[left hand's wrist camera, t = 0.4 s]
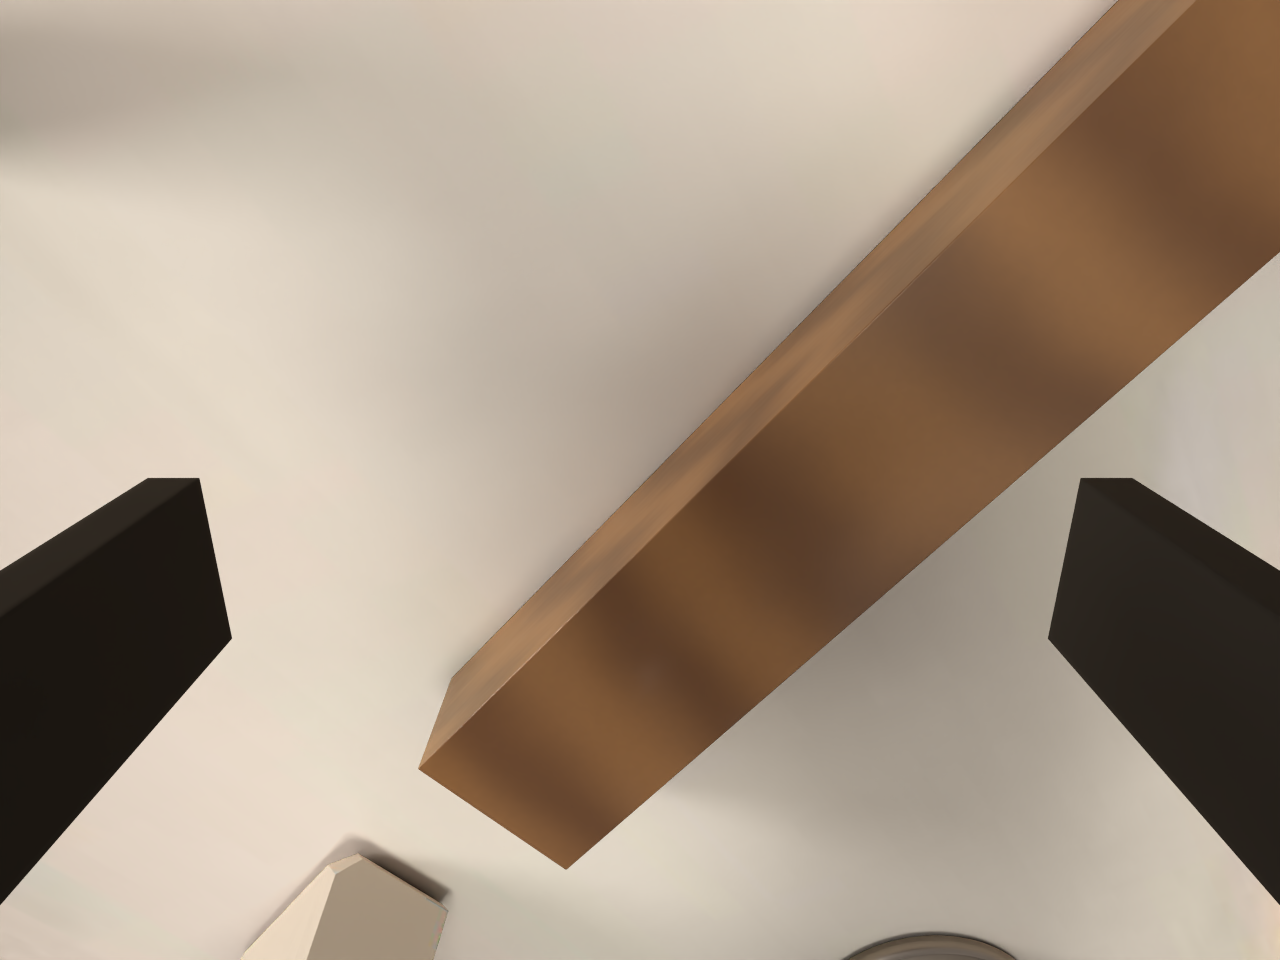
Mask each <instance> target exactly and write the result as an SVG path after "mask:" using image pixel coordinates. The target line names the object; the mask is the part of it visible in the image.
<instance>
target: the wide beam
mask: <svg viewBox="0 0 1280 960" xmlns="http://www.w3.org/2000/svg"><path fill="white" fill-rule="evenodd" d="M1279 252H1280V0H1118V1H1117V2H1116V3H1115V4H1114V5H1113V6H1112V8H1111V9H1110V10H1109V11H1108V12H1107V13H1106V14H1105V15H1104V16H1103V17H1102V18H1101V19H1100V20H1099V21H1098V22H1097V23H1096V24H1095V25H1094V26H1093V27H1092V28H1091V29H1090V30H1089V31H1088V32H1087V33H1086V34H1085V35H1084V36H1083V37H1082V38H1081V39H1080V40H1079V41H1078V42H1077V43H1076V44H1075V45H1074V46H1073V47H1072V48H1071V49H1070V50H1069V51H1068V52H1067V53H1066V54H1065V55H1064V56H1063V57H1062V58H1061V59H1060V60H1059V61H1058V62H1057V63H1056V64H1055V65H1054V66H1053V67H1052V69H1051V70H1050V71H1049V72H1048V73H1047V74H1046V75H1045V76H1044V77H1043V78H1042V79H1041V80H1040V81H1039V82H1038V83H1037V84H1036V85H1035V86H1034V87H1033V88H1032V89H1031V90H1030V91H1029V92H1028V93H1027V94H1026V95H1025V96H1024V97H1023V98H1022V99H1021V100H1020V101H1019V102H1018V103H1017V104H1016V105H1015V106H1014V107H1013V108H1012V109H1011V110H1010V111H1009V112H1008V113H1007V114H1006V115H1005V116H1004V117H1003V118H1002V119H1001V120H1000V121H999V122H998V123H997V124H996V125H995V126H994V127H993V129H992V130H991V131H990V132H989V133H988V134H987V135H986V136H985V137H984V138H983V139H982V140H981V141H980V142H979V143H978V144H977V145H976V146H975V147H974V148H973V149H972V150H971V151H970V152H969V153H968V154H967V155H966V156H965V157H964V158H963V159H962V160H961V161H960V162H959V163H958V164H957V165H956V166H955V167H954V168H953V169H952V170H951V171H950V172H949V173H948V174H947V175H946V176H945V177H944V178H943V179H942V180H941V181H940V182H939V183H938V184H937V185H936V186H935V187H934V188H933V190H932V191H931V192H930V193H929V194H928V195H927V196H926V197H925V198H924V199H923V200H922V201H921V202H920V203H919V204H918V205H917V206H916V207H915V208H914V209H913V210H912V211H911V212H910V213H909V214H908V215H907V216H906V217H905V218H904V219H903V220H902V221H901V222H900V223H899V224H898V225H897V226H896V227H895V228H894V229H893V230H892V231H891V232H890V233H889V234H888V235H887V236H886V237H885V238H884V239H883V240H882V241H881V242H880V243H879V244H878V245H877V246H876V247H875V248H874V249H873V251H872V252H871V253H870V254H869V255H868V256H867V257H866V258H865V259H864V260H863V261H862V262H861V263H860V264H859V265H858V266H857V267H856V268H855V269H854V270H853V271H852V272H851V273H850V274H849V275H848V276H847V277H846V278H845V279H844V280H843V281H842V282H841V283H840V284H839V285H838V286H837V287H836V288H835V289H834V290H833V291H832V292H831V293H830V294H829V295H828V296H827V297H826V298H825V299H824V300H823V301H822V302H821V303H820V304H819V305H818V306H817V307H816V308H815V309H814V310H813V312H812V313H811V314H810V315H809V316H808V317H807V318H806V319H805V320H804V321H803V322H802V323H801V324H800V325H799V326H798V327H797V328H796V329H795V330H794V331H793V332H792V333H791V334H790V335H789V336H788V337H787V338H786V339H785V340H784V341H783V342H782V343H781V344H780V345H779V346H778V347H777V348H776V349H775V350H774V351H773V352H772V353H771V354H770V355H769V356H768V357H767V358H766V359H765V360H764V361H763V362H762V363H761V364H760V365H759V366H758V367H757V368H756V369H755V370H754V372H753V373H752V374H751V375H750V376H749V377H748V378H747V379H746V380H745V381H744V382H743V383H742V384H741V385H740V386H739V387H738V388H737V389H736V390H735V391H734V392H733V393H732V394H731V395H730V396H729V397H728V398H727V399H726V400H725V401H724V402H723V403H722V404H721V405H720V406H719V407H718V408H717V409H716V410H715V411H714V412H713V413H712V414H711V415H710V416H709V417H708V418H707V419H706V420H705V421H704V422H703V423H702V424H701V425H700V426H699V427H698V428H697V429H696V430H695V431H694V433H693V434H692V435H691V436H690V437H689V438H688V439H687V440H686V441H685V442H684V443H683V444H682V445H681V446H680V447H679V448H678V449H677V450H676V451H675V452H674V453H673V454H672V455H671V456H670V457H669V458H668V459H667V460H666V461H665V462H664V463H663V464H662V465H661V466H660V467H659V468H658V469H657V470H656V471H655V472H654V473H653V474H652V475H651V476H650V477H649V478H648V479H647V480H646V481H645V482H644V483H643V484H642V485H641V486H640V487H639V488H638V489H637V490H636V491H635V492H634V494H633V495H632V496H631V497H630V498H629V499H628V500H627V501H626V502H625V503H624V504H623V505H622V506H621V507H620V508H619V509H618V510H617V511H616V512H615V513H614V514H613V515H612V516H611V517H610V518H609V519H608V520H607V521H606V522H605V523H604V524H603V525H602V526H601V527H600V528H599V529H598V530H597V531H596V532H595V533H594V534H593V535H592V536H591V537H590V538H589V539H588V540H587V541H586V542H585V543H584V544H583V545H582V546H581V547H580V548H579V549H578V550H577V551H576V552H575V554H574V555H573V556H572V557H571V558H570V559H569V560H568V561H567V562H566V563H565V564H564V565H563V566H562V567H561V568H560V569H559V570H558V571H557V572H556V573H555V574H554V575H553V576H552V577H551V578H550V579H549V580H548V581H547V582H546V583H545V584H544V585H543V586H542V587H541V588H540V589H539V590H538V591H537V592H536V593H535V594H534V595H533V596H532V597H531V598H530V599H529V600H528V601H527V602H526V603H525V604H524V605H523V606H522V607H521V608H520V609H519V610H518V611H517V612H516V613H515V615H514V616H513V617H512V618H511V619H510V620H509V621H508V622H507V623H506V624H505V625H504V626H503V627H502V628H501V629H500V630H499V631H498V632H497V633H496V634H495V635H494V636H493V637H492V638H491V639H490V640H489V641H488V642H487V643H486V644H485V645H484V646H483V647H482V648H481V649H480V650H479V651H478V652H477V653H476V654H475V655H474V656H473V657H472V658H471V659H470V660H469V661H468V662H467V663H466V664H465V665H464V666H463V667H462V668H461V669H460V670H459V671H458V672H457V673H456V674H455V676H454V677H453V678H452V679H451V681H450V684H449V687H448V689H447V692H446V695H445V698H444V700H443V703H442V706H441V708H440V711H439V714H438V716H437V719H436V722H435V725H434V727H433V730H432V733H431V735H430V738H429V741H428V744H427V746H426V749H425V752H424V754H423V757H422V760H421V763H420V765H419V768H418V769H419V770H420V771H422V772H423V773H425V774H426V775H428V776H429V777H431V778H432V779H434V780H435V781H437V782H438V783H439V784H441V785H442V786H444V787H445V788H447V789H448V790H450V791H451V792H453V793H454V794H456V795H457V796H459V797H460V798H461V799H463V800H464V801H466V802H467V803H469V804H470V805H472V806H473V807H475V808H476V809H478V810H479V811H481V812H482V813H484V814H485V815H486V816H488V817H489V818H491V819H492V820H494V821H495V822H497V823H498V824H500V825H501V826H503V827H504V828H506V829H507V830H508V831H510V832H511V833H513V834H514V835H516V836H517V837H519V838H520V839H522V840H523V841H525V842H526V843H528V844H529V845H530V846H532V847H533V848H535V849H536V850H538V851H539V852H541V853H542V854H544V855H545V856H547V857H548V858H550V859H551V860H552V861H554V862H555V863H557V864H558V865H560V866H561V867H563V868H564V869H568V868H569V867H570V866H571V865H572V864H573V863H575V862H576V861H577V860H578V859H579V858H580V857H581V856H583V855H584V854H585V853H586V852H587V851H588V850H590V849H591V848H592V847H593V846H594V845H595V844H597V843H598V842H599V841H600V840H601V839H602V838H603V837H605V836H606V835H607V834H608V833H609V832H610V831H612V830H613V829H614V828H615V827H616V826H617V825H618V824H620V823H621V822H622V821H623V820H624V819H625V818H627V817H628V816H629V815H630V814H631V813H632V812H633V811H635V810H636V809H637V808H638V807H639V806H640V805H642V804H643V803H644V802H645V801H646V800H647V799H648V798H650V797H651V796H652V795H653V794H654V793H655V792H657V791H658V790H659V789H660V788H661V787H662V786H663V785H665V784H666V783H667V782H668V781H669V780H670V779H672V778H673V777H674V776H675V775H676V774H677V773H679V772H680V771H681V770H682V769H683V768H684V767H685V766H687V765H688V764H689V763H690V762H691V761H692V760H694V759H695V758H696V757H697V756H698V755H699V754H700V753H702V752H703V751H704V750H705V749H706V748H707V747H709V746H710V745H711V744H712V743H713V742H714V741H715V740H717V739H718V738H719V737H720V736H721V735H722V734H724V733H725V732H726V731H727V730H728V729H729V728H730V727H732V726H733V725H734V724H735V723H736V722H737V721H739V720H740V719H741V718H742V717H743V716H744V715H745V714H747V713H748V712H749V711H750V710H751V709H752V708H754V707H755V706H756V705H757V704H758V703H759V702H761V701H762V700H763V699H764V698H765V697H766V696H767V695H769V694H770V693H771V692H772V691H773V690H774V689H776V688H777V687H778V686H779V685H780V684H781V683H782V682H784V681H785V680H786V679H787V678H788V677H789V676H791V675H792V674H793V673H794V672H795V671H796V670H797V669H799V668H800V667H801V666H802V665H803V664H804V663H806V662H807V661H808V660H809V659H810V658H811V657H812V656H814V655H815V654H816V653H817V652H818V651H819V650H821V649H822V648H823V647H824V646H825V645H826V644H827V643H829V642H830V641H831V640H832V639H833V638H834V637H836V636H837V635H838V634H839V633H840V632H841V631H843V630H844V629H845V628H846V627H847V626H848V625H849V624H851V623H852V622H853V621H854V620H855V619H856V618H858V617H859V616H860V615H861V614H862V613H863V612H864V611H866V610H867V609H868V608H869V607H870V606H871V605H873V604H874V603H875V602H876V601H877V600H878V599H879V598H881V597H882V596H883V595H884V594H885V593H886V592H888V591H889V590H890V589H891V588H892V587H893V586H894V585H896V584H897V583H898V582H899V581H900V580H901V579H903V578H904V577H905V576H906V575H907V574H908V573H909V572H911V571H912V570H913V569H914V568H915V567H916V566H918V565H919V564H920V563H921V562H922V561H923V560H925V559H926V558H927V557H928V556H929V555H930V554H931V553H933V552H934V551H935V550H936V549H937V548H938V547H940V546H941V545H942V544H943V543H944V542H945V541H946V540H948V539H949V538H950V537H951V536H952V535H953V534H955V533H956V532H957V531H958V530H959V529H960V528H961V527H963V526H964V525H965V524H966V523H967V522H968V521H970V520H971V519H972V518H973V517H974V516H975V515H976V514H978V513H979V512H980V511H981V510H982V509H983V508H985V507H986V506H987V505H988V504H989V503H990V502H991V501H993V500H994V499H995V498H996V497H997V496H998V495H1000V494H1001V493H1002V492H1003V491H1004V490H1005V489H1007V488H1008V487H1009V486H1010V485H1011V484H1012V483H1013V482H1015V481H1016V480H1017V479H1018V478H1019V477H1020V476H1022V475H1023V474H1024V473H1025V472H1026V471H1027V470H1028V469H1030V468H1031V467H1032V466H1033V465H1034V464H1035V463H1037V462H1038V461H1039V460H1040V459H1041V458H1042V457H1043V456H1045V455H1046V454H1047V453H1048V452H1049V451H1050V450H1052V449H1053V448H1054V447H1055V446H1056V445H1057V444H1058V443H1060V442H1061V441H1062V440H1063V439H1064V438H1065V437H1067V436H1068V435H1069V434H1070V433H1071V432H1072V431H1073V430H1075V429H1076V428H1077V427H1078V426H1079V425H1080V424H1082V423H1083V422H1084V421H1085V420H1086V419H1087V418H1089V417H1090V416H1091V415H1092V414H1093V413H1094V412H1095V411H1097V410H1098V409H1099V408H1100V407H1101V406H1102V405H1104V404H1105V403H1106V402H1107V401H1108V400H1109V399H1110V398H1112V397H1113V396H1114V395H1115V394H1116V393H1117V392H1119V391H1120V390H1121V389H1122V388H1123V387H1124V386H1125V385H1127V384H1128V383H1129V382H1130V381H1131V380H1132V379H1134V378H1135V377H1136V376H1137V375H1138V374H1139V373H1140V372H1142V371H1143V370H1144V369H1145V368H1146V367H1147V366H1149V365H1150V364H1151V363H1152V362H1153V361H1154V360H1155V359H1157V358H1158V357H1159V356H1160V355H1161V354H1162V353H1164V352H1165V351H1166V350H1167V349H1168V348H1169V347H1171V346H1172V345H1173V344H1174V343H1175V342H1176V341H1177V340H1179V339H1180V338H1181V337H1182V336H1183V335H1184V334H1186V333H1187V332H1188V331H1189V330H1190V329H1191V328H1192V327H1194V326H1195V325H1196V324H1197V323H1198V322H1199V321H1201V320H1202V319H1203V318H1204V317H1205V316H1206V315H1207V314H1209V313H1210V312H1211V311H1212V310H1213V309H1214V308H1216V307H1217V306H1218V305H1219V304H1220V303H1221V302H1222V301H1224V300H1225V299H1226V298H1227V297H1228V296H1229V295H1231V294H1232V293H1233V292H1234V291H1235V290H1236V289H1237V288H1239V287H1240V286H1241V285H1242V284H1243V283H1244V282H1246V281H1247V280H1248V279H1249V278H1250V277H1251V276H1253V275H1254V274H1255V273H1256V272H1257V271H1258V270H1259V269H1261V268H1262V267H1263V266H1264V265H1265V264H1266V263H1268V262H1269V261H1270V260H1271V259H1272V258H1273V257H1274V256H1276V255H1277V254H1278V253H1279Z"/></svg>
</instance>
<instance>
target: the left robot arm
mask: <svg viewBox="0 0 1280 960" xmlns="http://www.w3.org/2000/svg"><path fill="white" fill-rule="evenodd" d="M231 639H232V636H231V631H230V626H229V622H228V617H227V612H226V607H225V602H224V597H223V592H222V587H221V582H220V577H219V572H218V568H217V563H216V558H215V553H214V548H213V543H212V538H211V533H210V528H209V523H208V518H207V513H206V509H205V504H204V499H203V494H202V489H201V484H200V479H199V478H147V479H146V480H144V481H142V482H141V483H139V484H138V485H136V486H134V487H133V488H131V489H130V490H128V491H127V492H125V493H123V494H122V495H120V496H119V497H117V498H115V499H114V500H112V501H111V502H109V503H107V504H106V505H104V506H103V507H101V508H99V509H98V510H96V511H95V512H93V513H91V514H90V515H88V516H87V517H85V518H83V519H82V520H80V521H79V522H77V523H75V524H74V525H72V526H71V527H69V528H68V529H66V530H64V531H63V532H61V533H60V534H58V535H56V536H55V537H53V538H52V539H50V540H48V541H47V542H45V543H44V544H42V545H40V546H39V547H37V548H36V549H34V550H32V551H31V552H29V553H28V554H26V555H24V556H23V557H21V558H20V559H18V560H17V561H15V562H13V563H12V564H10V565H9V566H7V567H5V568H4V569H2V570H1V571H0V905H1V904H2V902H3V901H4V900H5V899H6V898H7V897H8V895H9V894H10V893H11V892H12V891H13V890H14V889H15V887H16V886H17V885H18V884H19V883H20V882H21V881H22V879H23V878H24V877H25V876H26V875H27V874H28V872H29V871H30V870H31V869H32V868H33V867H34V866H35V864H36V863H37V862H38V861H39V860H40V859H41V858H42V856H43V855H44V854H45V853H46V852H47V851H48V849H49V848H50V847H51V846H52V845H53V844H54V843H55V841H56V840H57V839H58V838H59V837H60V836H61V835H62V833H63V832H64V831H65V830H66V829H67V828H68V826H69V825H70V824H71V823H72V822H73V821H74V820H75V818H76V817H77V816H78V815H79V814H80V813H81V812H82V810H83V809H84V808H85V807H86V806H87V805H88V803H89V802H90V801H91V800H92V799H93V798H94V797H95V795H96V794H97V793H98V792H99V791H100V790H101V789H102V787H103V786H104V785H105V784H106V783H107V782H108V780H109V779H110V778H111V777H112V776H113V775H114V774H115V772H116V771H117V770H118V769H119V768H120V767H121V766H122V764H123V763H124V762H125V761H126V760H127V759H128V757H129V756H130V755H131V754H132V753H133V752H134V751H135V749H136V748H137V747H138V746H139V745H140V744H141V743H142V741H143V740H144V739H145V738H146V737H147V736H148V735H149V733H150V732H151V731H152V730H153V729H154V728H155V726H156V725H157V724H158V723H159V722H160V721H161V720H162V718H163V717H164V716H165V715H166V714H167V713H168V712H169V710H170V709H171V708H172V707H173V706H174V705H175V703H176V702H177V701H178V700H179V699H180V698H181V697H182V695H183V694H184V693H185V692H186V691H187V690H188V689H189V687H190V686H191V685H192V684H193V683H194V682H195V680H196V679H197V678H198V677H199V676H200V675H201V674H202V672H203V671H204V670H205V669H206V668H207V667H208V666H209V664H210V663H211V662H212V661H213V660H214V659H215V657H216V656H217V655H218V654H219V653H220V652H221V651H222V649H223V648H224V647H225V646H226V645H227V644H228V643H229V641H230V640H231ZM1048 639H1049V640H1050V641H1051V643H1052V644H1053V645H1054V646H1055V647H1056V648H1057V649H1058V651H1059V652H1060V653H1061V654H1062V655H1063V656H1064V657H1065V659H1066V660H1067V661H1068V662H1069V663H1070V664H1071V666H1072V667H1073V668H1074V669H1075V670H1076V671H1077V672H1078V674H1079V675H1080V676H1081V677H1082V678H1083V679H1084V680H1085V682H1086V683H1087V684H1088V685H1089V686H1090V687H1091V689H1092V690H1093V691H1094V692H1095V693H1096V694H1097V695H1098V697H1099V698H1100V699H1101V700H1102V701H1103V702H1104V703H1105V705H1106V706H1107V707H1108V708H1109V709H1110V710H1111V712H1112V713H1113V714H1114V715H1115V716H1116V717H1117V718H1118V720H1119V721H1120V722H1121V723H1122V724H1123V725H1124V726H1125V728H1126V729H1127V730H1128V731H1129V732H1130V733H1131V735H1132V736H1133V737H1134V738H1135V739H1136V740H1137V741H1138V743H1139V744H1140V745H1141V746H1142V747H1143V748H1144V749H1145V751H1146V752H1147V753H1148V754H1149V755H1150V756H1151V758H1152V759H1153V760H1154V761H1155V762H1156V763H1157V764H1158V766H1159V767H1160V768H1161V769H1162V770H1163V771H1164V772H1165V774H1166V775H1167V776H1168V777H1169V778H1170V779H1171V780H1172V782H1173V783H1174V784H1175V785H1176V786H1177V787H1178V789H1179V790H1180V791H1181V792H1182V793H1183V794H1184V795H1185V797H1186V798H1187V799H1188V800H1189V801H1190V802H1191V803H1192V805H1193V806H1194V807H1195V808H1196V809H1197V810H1198V812H1199V813H1200V814H1201V815H1202V816H1203V817H1204V818H1205V820H1206V821H1207V822H1208V823H1209V824H1210V825H1211V826H1212V828H1213V829H1214V830H1215V831H1216V832H1217V833H1218V835H1219V836H1220V837H1221V838H1222V839H1223V840H1224V841H1225V843H1226V844H1227V845H1228V846H1229V847H1230V848H1231V849H1232V851H1233V852H1234V853H1235V854H1236V855H1237V856H1238V858H1239V859H1240V860H1241V861H1242V862H1243V863H1244V864H1245V866H1246V867H1247V868H1248V869H1249V870H1250V871H1251V872H1252V874H1253V875H1254V876H1255V877H1256V878H1257V879H1258V881H1259V882H1260V883H1261V884H1262V885H1263V886H1264V887H1265V889H1266V890H1267V891H1268V892H1269V893H1270V894H1271V895H1272V897H1273V898H1274V899H1275V900H1276V901H1277V902H1278V904H1279V905H1280V571H1279V570H1278V569H1276V568H1275V567H1273V566H1271V565H1270V564H1268V563H1267V562H1265V561H1263V560H1262V559H1260V558H1259V557H1257V556H1256V555H1254V554H1252V553H1251V552H1249V551H1248V550H1246V549H1244V548H1243V547H1241V546H1240V545H1238V544H1236V543H1235V542H1233V541H1232V540H1230V539H1228V538H1227V537H1225V536H1224V535H1222V534H1220V533H1219V532H1217V531H1216V530H1214V529H1212V528H1211V527H1209V526H1208V525H1206V524H1205V523H1203V522H1201V521H1200V520H1198V519H1197V518H1195V517H1193V516H1192V515H1190V514H1189V513H1187V512H1185V511H1184V510H1182V509H1181V508H1179V507H1177V506H1176V505H1174V504H1173V503H1171V502H1169V501H1168V500H1166V499H1165V498H1163V497H1161V496H1160V495H1158V494H1157V493H1155V492H1153V491H1152V490H1150V489H1149V488H1147V487H1146V486H1144V485H1142V484H1141V483H1139V482H1138V481H1136V480H1134V479H1133V478H1081V479H1080V484H1079V489H1078V494H1077V499H1076V504H1075V509H1074V513H1073V518H1072V523H1071V528H1070V533H1069V538H1068V543H1067V548H1066V553H1065V558H1064V563H1063V568H1062V572H1061V577H1060V582H1059V587H1058V592H1057V597H1056V602H1055V607H1054V612H1053V617H1052V622H1051V626H1050V631H1049V636H1048ZM848 960H1015V959H1014V958H1012V957H1011V956H1010V955H1008V954H1006V953H1005V952H1003V951H1001V950H999V949H997V948H995V947H993V946H991V945H988V944H985V943H983V942H979V941H976V940H972V939H967V938H962V937H955V936H941V935H931V936H917V937H909V938H903V939H898V940H894V941H890V942H887V943H883V944H880V945H877V946H875V947H872V948H870V949H867V950H865V951H863V952H861V953H859V954H857V955H855V956H853V957H852V958H850V959H848Z"/></svg>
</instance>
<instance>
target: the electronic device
mask: <svg viewBox="0 0 1280 960" xmlns="http://www.w3.org/2000/svg"><path fill="white" fill-rule="evenodd" d="M447 913H448V910H447V909H446V908H445V907H444V906H443V905H442V904H441V903H440V902H438V901H436V900H435V899H433V898H431V897H430V896H428V895H426V894H425V893H423V892H421V891H420V890H418V889H416V888H415V887H413V886H411V885H410V884H408V883H406V882H405V881H403V880H401V879H400V878H398V877H396V876H395V875H393V874H392V873H390V872H388V871H387V870H385V869H383V868H382V867H380V866H378V865H377V864H375V863H373V862H372V861H370V860H368V859H367V858H365V857H363V856H362V855H360V854H355V855H352V856H350V857H347V858H344V859H342V860H339V861H337V862H334V863H331V864H329V865H327V866H326V867H325V868H324V869H323V871H322V872H321V873H320V874H319V875H318V876H317V877H316V878H315V879H314V880H313V881H312V882H311V883H310V884H309V885H308V886H307V887H306V888H305V889H304V891H303V892H302V893H301V894H300V895H299V896H298V897H297V898H296V899H295V900H294V901H293V902H292V903H291V904H290V905H289V906H288V907H287V908H286V909H285V911H284V912H283V913H282V914H281V915H280V916H279V917H278V918H277V919H276V920H275V921H274V922H273V923H272V924H271V925H270V926H269V927H268V928H267V929H266V931H265V932H264V933H263V934H262V935H261V936H260V937H259V938H258V939H257V940H256V941H255V942H254V943H253V944H252V945H251V946H250V947H249V948H248V949H247V951H246V952H245V953H244V954H243V956H242V958H241V960H433V959H434V956H435V952H436V949H437V946H438V943H439V939H440V936H441V933H442V930H443V926H444V923H445V920H446V917H447Z"/></svg>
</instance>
